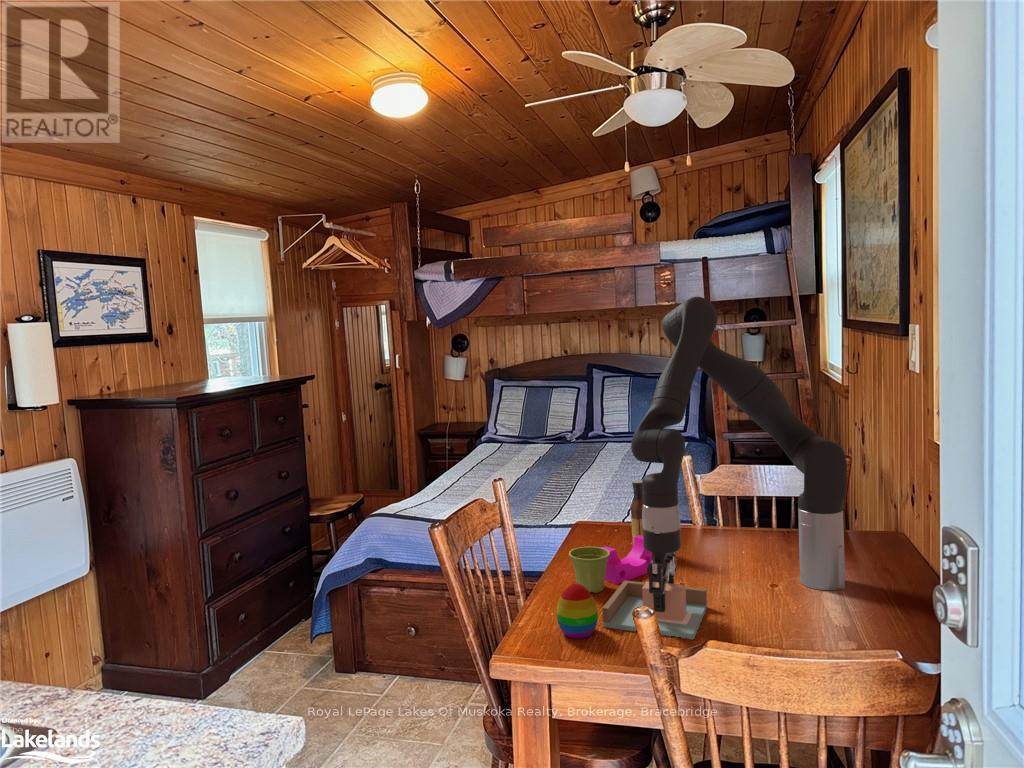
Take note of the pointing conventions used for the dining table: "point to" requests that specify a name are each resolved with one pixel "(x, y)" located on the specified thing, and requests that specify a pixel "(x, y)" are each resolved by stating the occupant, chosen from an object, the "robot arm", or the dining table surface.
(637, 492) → the sauce bottle
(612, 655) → the dining table surface
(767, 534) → the dining table surface
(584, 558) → the plant pot
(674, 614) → the block
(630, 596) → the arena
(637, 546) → the toy block
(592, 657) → the dining table surface
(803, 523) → the robot arm
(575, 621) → the decorative egg
